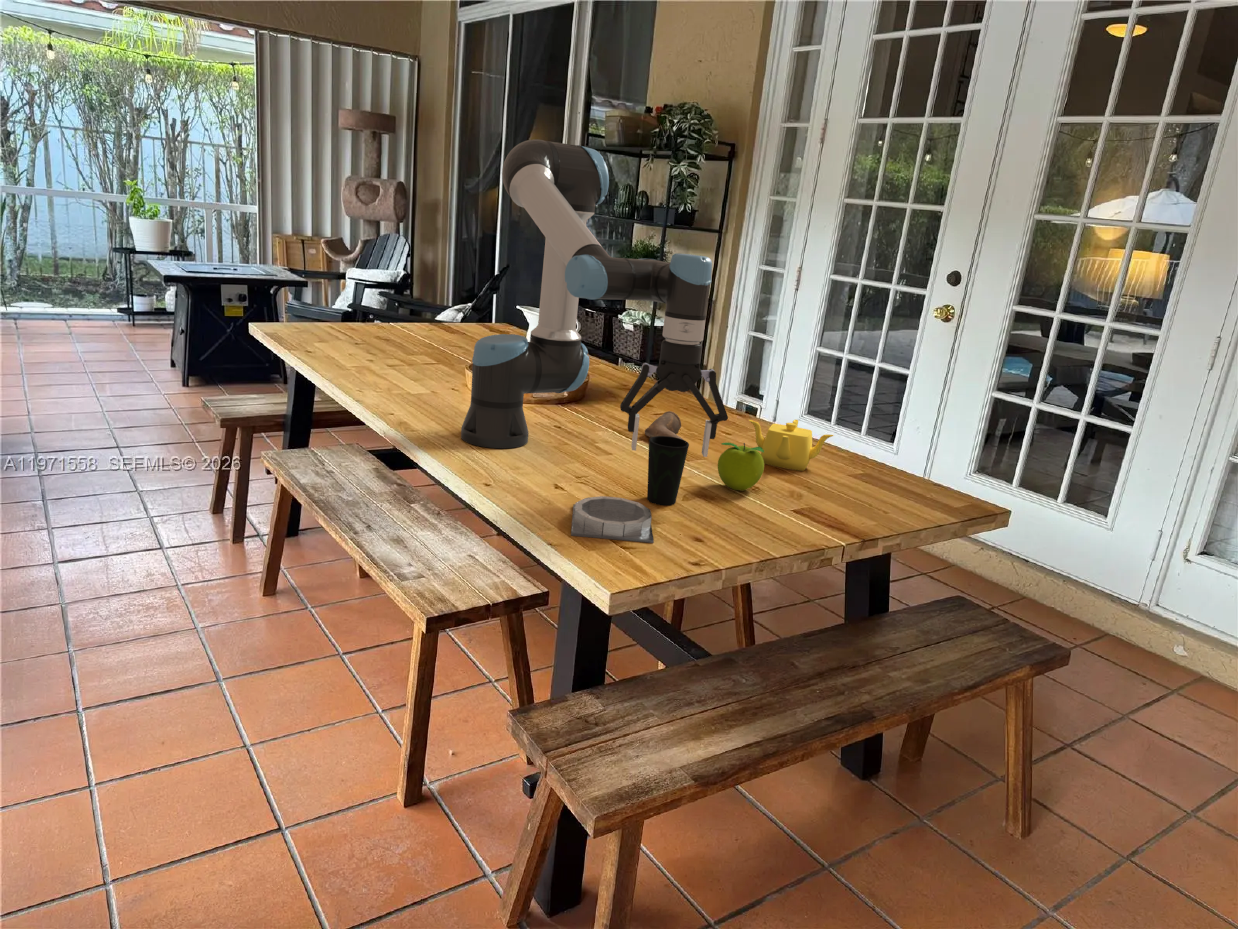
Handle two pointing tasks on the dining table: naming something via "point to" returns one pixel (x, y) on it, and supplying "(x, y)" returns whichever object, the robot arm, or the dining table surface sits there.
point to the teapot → (788, 445)
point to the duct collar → (612, 519)
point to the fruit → (740, 466)
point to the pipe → (665, 426)
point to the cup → (665, 468)
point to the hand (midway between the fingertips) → (669, 451)
